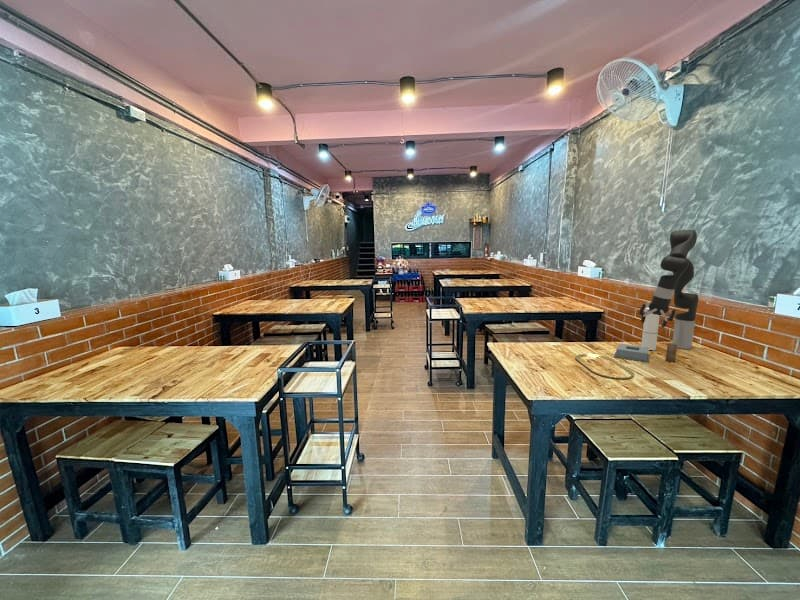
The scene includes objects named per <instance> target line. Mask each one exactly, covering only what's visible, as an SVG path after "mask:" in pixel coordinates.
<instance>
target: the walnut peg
mask: <svg viewBox="0 0 800 600" xmlns="http://www.w3.org/2000/svg"><path fill="white" fill-rule="evenodd" d="M677 349H678V348H677V344H672V343H671V342H670V343H669V342H668V343H667V347H666V353H665V362H667V361H668V362H667V363H671V362H675V363H676V358H677Z"/></svg>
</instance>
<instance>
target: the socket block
mask: <svg viewBox="0 0 800 600" xmlns="http://www.w3.org/2000/svg"><path fill="white" fill-rule="evenodd" d="M650 355H651V354H650V353H649V351H648V347H642V346H641V345H634V344H627V343H626V344H625V343H619V344H618V345H617V347H616V350H615V352H614V355H613V358H615V359H620V360H627V361H632V360H634V361H633V362H639V361H641V362H640V363H645V362H649V363H650V358H651V356H650Z"/></svg>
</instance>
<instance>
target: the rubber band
mask: <svg viewBox="0 0 800 600" xmlns="http://www.w3.org/2000/svg"><path fill="white" fill-rule="evenodd" d="M587 356H588V357H587ZM589 356H590V357H589ZM596 357H599V358H598V359H601V358H603V359H602V360H605V359H606V360H605V361H607V360H609V361H611V362H613V363H614V364H616V365H617V366H619V367H620V368H619V367H618V368H619V369H621V368H622V369H624V370H625V371H626V373H627V372H628V373H627V374H628V375H629V374H630V375H631V376H630V375H629V376H626V377H625V376H624V377H623V376H622V377H621V376H612V375H606V374H602V373H600V372H597V371H595V370H592V369H591V368H590V367H589V366H588V365H586V364H585V363H583V362H582V361H581V360H580V358H596ZM575 359H576V360H577V362H579V363H581V365H583V367H586V368H587V369H588V370H589V369H590V371H591V372H593V374H595V373H596V375H597V374H598V375H597V376H600V375H601V377H603V376H605V377H604V378H607V377H609V379H613V378H615V380H629V379H631V378H633V377H634V375H635V373H634V371H632V370H631V369H630V368H628V367H626V366H624V365H623V364H621V363H619V362H618V361H617V360H615V359H613V358H610V357H609V356H605V355H600V354H592V353H582V354H577V355H575ZM609 361H608V362H609ZM611 362H610V363H611ZM613 363H612V364H613ZM614 364H613V365H614ZM616 365H615V366H616ZM617 366H616V367H617ZM622 369H621V370H622ZM624 370H623V371H624ZM625 371H624V372H625Z"/></svg>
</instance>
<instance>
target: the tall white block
mask: <svg viewBox="0 0 800 600" xmlns="http://www.w3.org/2000/svg"><path fill="white" fill-rule="evenodd" d="M647 310H649V307H647V308H645V309H644V313H645V312H646V311H647ZM660 316H661V315H657V314H652V313H651V314H649V315H647V316H646V318H645V321H644V323H643V326H642V327H643V328H642V336H641V345H640V346H642V347H648V350H656V351H657V342H658V333H659V324H660Z"/></svg>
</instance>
